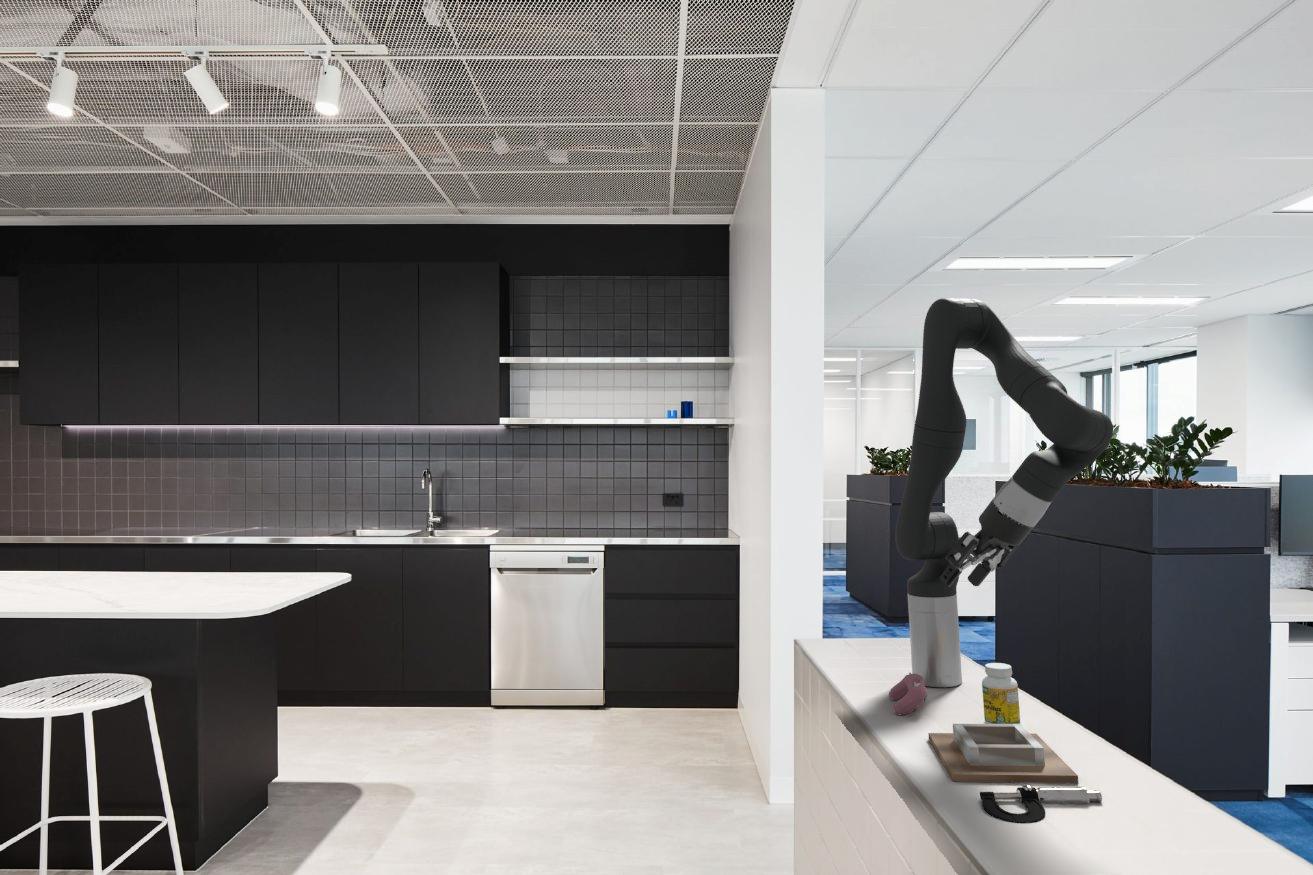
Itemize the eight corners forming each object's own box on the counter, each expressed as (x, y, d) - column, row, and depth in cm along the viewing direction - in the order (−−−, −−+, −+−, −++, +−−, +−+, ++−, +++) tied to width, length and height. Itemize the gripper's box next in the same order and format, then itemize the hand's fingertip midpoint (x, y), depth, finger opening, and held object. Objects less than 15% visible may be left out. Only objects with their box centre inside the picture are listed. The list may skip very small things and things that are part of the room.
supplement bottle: (1028, 726, 123) (1024, 666, 123) (1003, 732, 121) (999, 671, 121) (1001, 717, 128) (997, 659, 128) (977, 722, 126) (973, 664, 126)
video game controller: (917, 725, 130) (934, 689, 130) (892, 713, 131) (908, 676, 131) (910, 707, 140) (925, 673, 139) (886, 695, 141) (902, 662, 140)
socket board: (928, 739, 119) (927, 716, 119) (1036, 739, 117) (1035, 717, 117) (953, 781, 103) (951, 755, 104) (1078, 783, 101) (1076, 756, 101)
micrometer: (993, 827, 91) (991, 805, 91) (974, 800, 98) (973, 780, 98) (1124, 827, 90) (1123, 805, 90) (1096, 800, 97) (1095, 780, 97)
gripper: (1019, 499, 131) (965, 568, 138) (974, 493, 123) (918, 567, 130) (1054, 527, 126) (996, 598, 133) (1009, 523, 118) (949, 599, 124)
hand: (958, 583), depth 131 cm, fingers open, 8 cm apart
